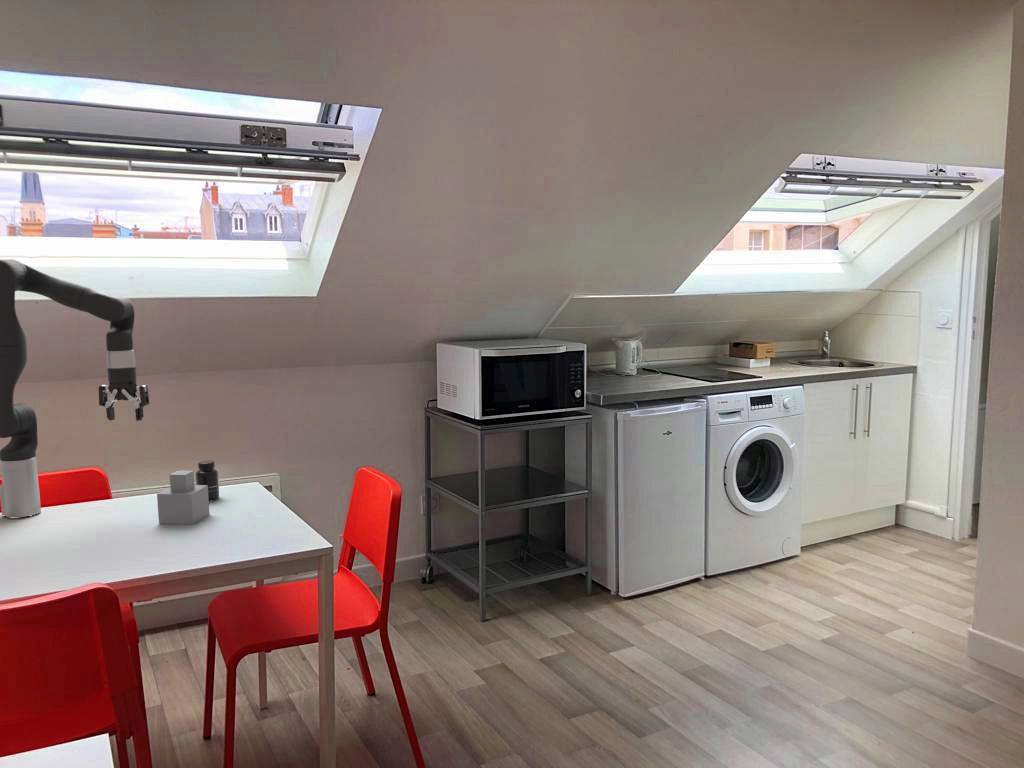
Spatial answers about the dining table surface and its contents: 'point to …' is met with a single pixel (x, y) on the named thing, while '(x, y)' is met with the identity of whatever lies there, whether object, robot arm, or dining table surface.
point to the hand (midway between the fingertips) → (125, 420)
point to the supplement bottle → (208, 478)
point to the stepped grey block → (183, 500)
